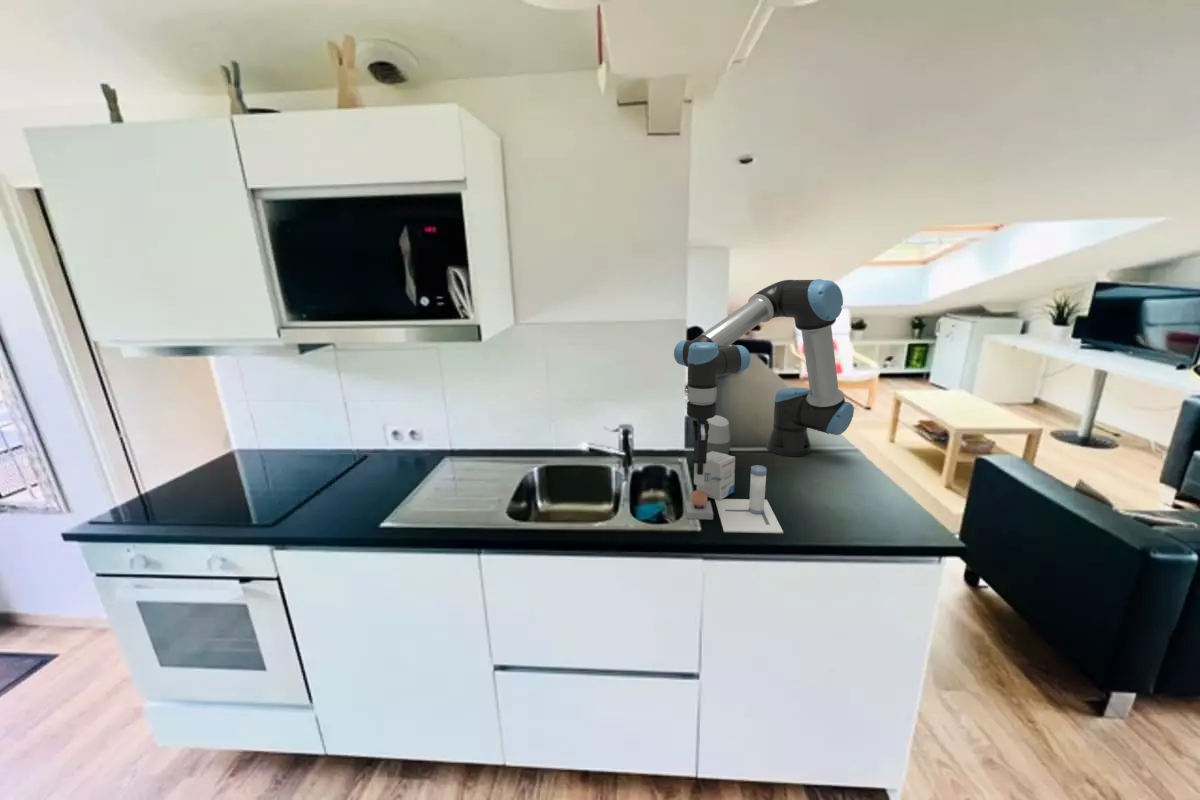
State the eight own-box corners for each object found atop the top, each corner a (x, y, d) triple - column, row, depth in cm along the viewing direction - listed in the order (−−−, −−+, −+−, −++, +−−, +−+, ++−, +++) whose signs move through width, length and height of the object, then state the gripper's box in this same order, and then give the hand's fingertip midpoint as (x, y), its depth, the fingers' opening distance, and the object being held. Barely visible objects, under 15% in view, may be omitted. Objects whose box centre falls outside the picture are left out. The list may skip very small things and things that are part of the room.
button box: (685, 506, 140) (685, 500, 140) (709, 507, 140) (710, 500, 139) (687, 518, 134) (687, 512, 133) (712, 519, 133) (713, 512, 132)
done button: (690, 504, 139) (690, 490, 137) (705, 504, 138) (706, 490, 137) (691, 511, 134) (691, 497, 133) (707, 511, 134) (708, 497, 133)
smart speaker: (718, 460, 172) (720, 423, 169) (698, 453, 179) (699, 417, 176) (735, 454, 178) (736, 417, 174) (714, 447, 185) (715, 412, 181)
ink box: (711, 484, 154) (712, 449, 151) (734, 492, 148) (736, 455, 145) (695, 493, 148) (696, 456, 145) (719, 501, 142) (720, 463, 139)
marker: (747, 507, 138) (749, 465, 135) (762, 507, 138) (764, 465, 134) (750, 514, 134) (752, 471, 131) (765, 514, 134) (768, 471, 130)
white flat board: (714, 500, 144) (714, 498, 144) (766, 500, 142) (766, 499, 142) (723, 532, 127) (724, 530, 126) (783, 533, 125) (783, 531, 125)
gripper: (685, 395, 135) (683, 473, 141) (689, 408, 122) (687, 493, 128) (712, 395, 134) (709, 474, 140) (719, 408, 121) (716, 494, 128)
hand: (699, 483), depth 134 cm, fingers closed
